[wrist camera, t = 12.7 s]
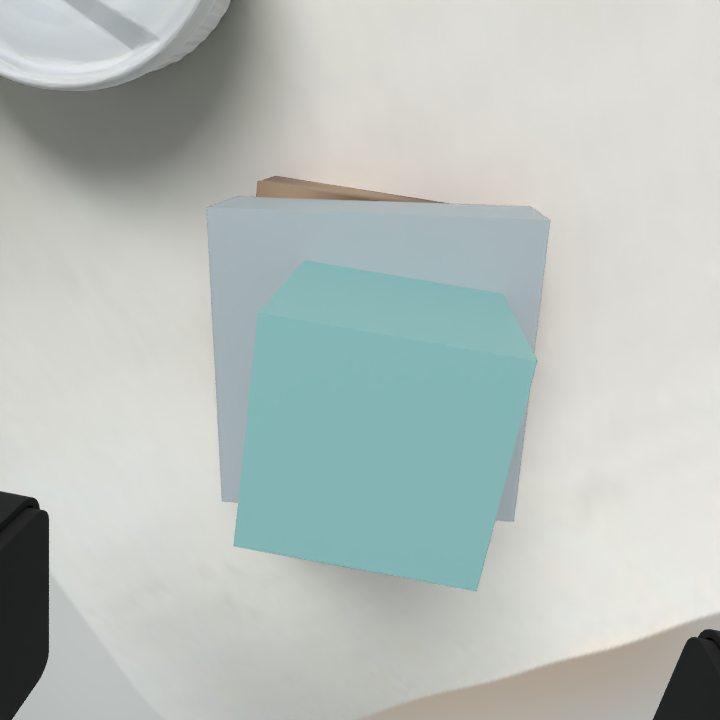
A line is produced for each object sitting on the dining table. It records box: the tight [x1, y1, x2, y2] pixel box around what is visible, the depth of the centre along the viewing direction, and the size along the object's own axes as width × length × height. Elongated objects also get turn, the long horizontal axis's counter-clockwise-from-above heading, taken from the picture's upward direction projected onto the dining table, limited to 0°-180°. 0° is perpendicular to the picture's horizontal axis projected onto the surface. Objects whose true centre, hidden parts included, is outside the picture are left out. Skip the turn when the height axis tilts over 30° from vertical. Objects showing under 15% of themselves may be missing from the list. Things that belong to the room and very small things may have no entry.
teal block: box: [234, 260, 537, 591], centre depth 18 cm, size 6×6×6 cm
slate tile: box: [206, 196, 550, 522], centre depth 22 cm, size 10×10×4 cm
